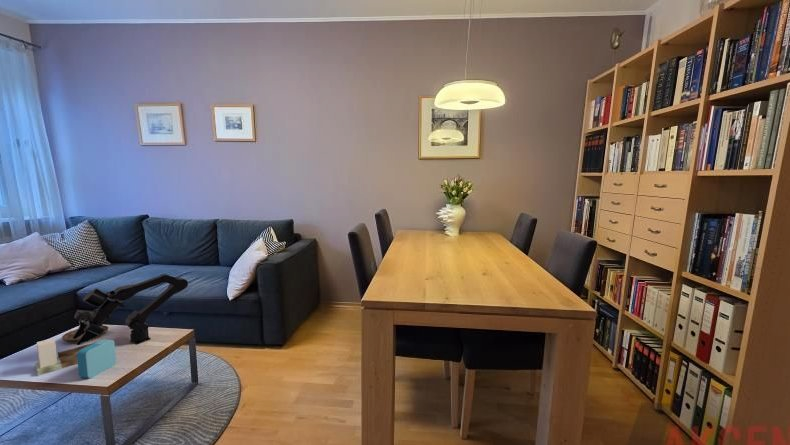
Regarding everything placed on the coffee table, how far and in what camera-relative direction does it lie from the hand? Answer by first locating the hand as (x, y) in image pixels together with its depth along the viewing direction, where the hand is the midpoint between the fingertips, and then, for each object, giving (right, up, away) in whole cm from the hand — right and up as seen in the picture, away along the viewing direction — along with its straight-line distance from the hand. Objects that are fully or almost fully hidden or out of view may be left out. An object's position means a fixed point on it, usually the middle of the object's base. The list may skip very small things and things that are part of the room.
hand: (75, 341), depth 147 cm
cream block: (-6, -7, -6) cm, 11 cm away
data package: (+18, -10, -8) cm, 22 cm away
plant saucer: (-17, -6, +23) cm, 29 cm away
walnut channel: (-1, -9, 0) cm, 9 cm away
